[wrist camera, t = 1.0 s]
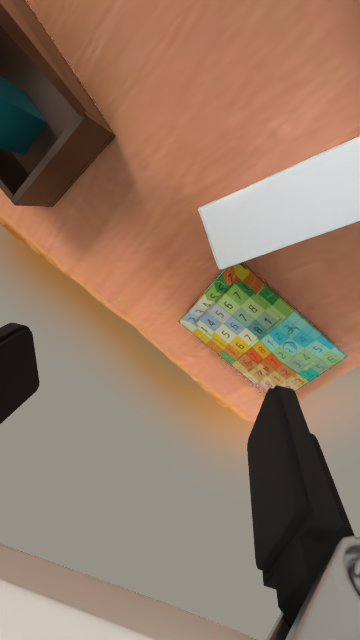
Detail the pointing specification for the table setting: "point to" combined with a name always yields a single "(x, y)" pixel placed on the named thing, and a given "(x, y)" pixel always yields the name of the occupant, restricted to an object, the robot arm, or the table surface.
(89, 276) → the table surface
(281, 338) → the puzzle game
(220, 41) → the table surface
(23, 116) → the block
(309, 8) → the table surface
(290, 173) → the skincare box
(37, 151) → the chest
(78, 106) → the lid
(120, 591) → the robot arm
